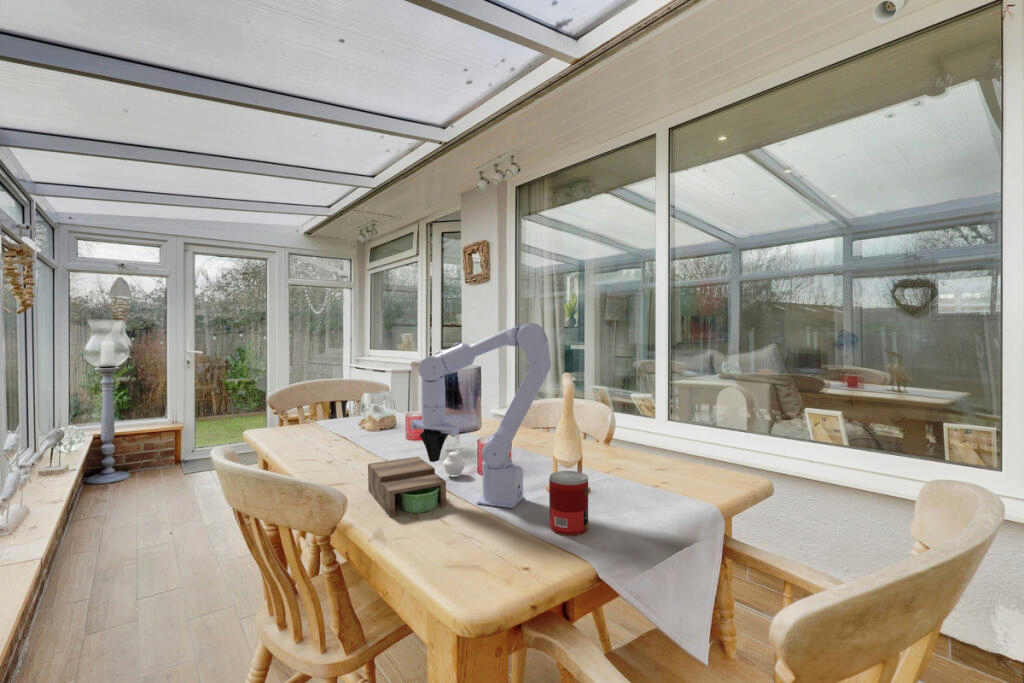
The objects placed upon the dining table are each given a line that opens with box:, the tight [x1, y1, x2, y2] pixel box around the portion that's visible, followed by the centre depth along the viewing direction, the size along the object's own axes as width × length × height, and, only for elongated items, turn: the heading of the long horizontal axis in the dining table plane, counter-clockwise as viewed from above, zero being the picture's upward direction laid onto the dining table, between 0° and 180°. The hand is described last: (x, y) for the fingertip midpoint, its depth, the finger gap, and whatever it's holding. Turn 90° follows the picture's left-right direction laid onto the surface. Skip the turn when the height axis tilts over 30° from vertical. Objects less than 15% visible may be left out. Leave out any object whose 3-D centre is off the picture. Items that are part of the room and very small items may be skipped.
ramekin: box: [400, 486, 439, 514], centre depth 112 cm, size 9×9×4 cm
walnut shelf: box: [367, 456, 447, 518], centre depth 118 cm, size 20×13×7 cm
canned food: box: [548, 470, 589, 536], centre depth 99 cm, size 8×8×11 cm
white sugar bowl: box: [442, 451, 466, 475], centre depth 135 cm, size 6×6×7 cm
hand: (434, 460), depth 117 cm, fingers closed
